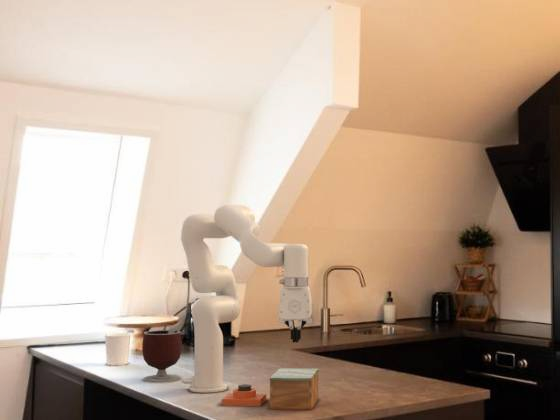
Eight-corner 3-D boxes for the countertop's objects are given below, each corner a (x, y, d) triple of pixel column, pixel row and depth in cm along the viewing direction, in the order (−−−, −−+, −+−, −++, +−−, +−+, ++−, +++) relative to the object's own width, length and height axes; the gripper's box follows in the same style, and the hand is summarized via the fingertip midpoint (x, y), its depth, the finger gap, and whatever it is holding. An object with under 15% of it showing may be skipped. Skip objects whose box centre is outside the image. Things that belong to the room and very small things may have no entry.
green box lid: (311, 380, 228) (311, 378, 228) (269, 380, 229) (269, 377, 229) (318, 371, 245) (318, 368, 245) (279, 370, 245) (279, 368, 245)
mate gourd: (159, 384, 269) (160, 327, 270) (133, 380, 277) (134, 324, 277) (192, 377, 282) (193, 323, 283) (167, 373, 290) (167, 321, 290)
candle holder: (130, 361, 319) (130, 332, 319) (129, 365, 310) (130, 335, 310) (105, 362, 316) (105, 333, 316) (104, 366, 306) (104, 336, 307)
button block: (221, 405, 234) (222, 392, 235) (229, 399, 243) (229, 386, 244) (260, 406, 234) (260, 392, 234) (266, 399, 243) (266, 387, 243)
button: (236, 392, 237) (236, 386, 237) (239, 389, 241) (239, 384, 241) (249, 392, 237) (249, 386, 237) (252, 390, 241) (252, 384, 241)
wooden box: (311, 409, 229) (311, 380, 229) (269, 409, 229) (270, 379, 230) (318, 398, 244) (318, 371, 245) (279, 398, 245) (279, 370, 245)
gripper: (270, 283, 236) (269, 343, 235) (318, 283, 235) (318, 343, 235) (274, 282, 243) (274, 340, 243) (321, 282, 243) (321, 340, 242)
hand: (295, 341), depth 239 cm, fingers closed
